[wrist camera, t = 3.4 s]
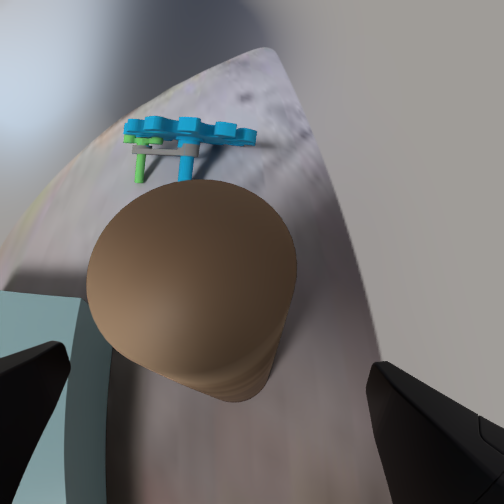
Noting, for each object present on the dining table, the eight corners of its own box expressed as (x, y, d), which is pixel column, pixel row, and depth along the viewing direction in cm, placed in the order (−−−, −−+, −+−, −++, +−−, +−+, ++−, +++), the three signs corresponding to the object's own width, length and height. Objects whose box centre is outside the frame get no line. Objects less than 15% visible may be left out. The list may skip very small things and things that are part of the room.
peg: (251, 413, 15) (238, 416, 4) (186, 383, 16) (53, 306, 5) (280, 350, 17) (324, 215, 6) (217, 323, 17) (157, 162, 7)
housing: (111, 551, 9) (78, 575, 5) (-21, 484, 9) (-58, 483, 6) (115, 325, 17) (81, 298, 13) (-9, 308, 18) (-43, 284, 14)
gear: (275, 133, 24) (225, 103, 14) (266, 203, 25) (211, 213, 16) (165, 128, 27) (88, 113, 18) (158, 187, 28) (80, 193, 19)
